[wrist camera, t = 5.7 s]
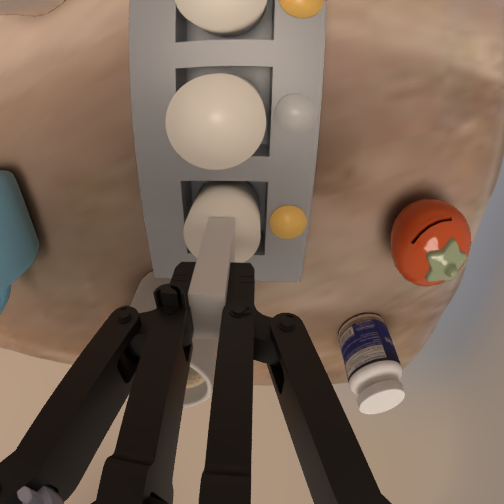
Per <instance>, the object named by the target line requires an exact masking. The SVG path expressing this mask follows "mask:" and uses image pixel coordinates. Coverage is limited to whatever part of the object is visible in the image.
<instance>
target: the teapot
mask: <svg viewBox="0 0 504 504" xmlns="http://www.w3.org/2000/svg"><path fill="white" fill-rule="evenodd" d="M38 249H39V241H38V238H37V235H36V232H35V229H34V226H33V224H32V221H31V218H30V215H29V212H28V210H27V207H26V204H25V202H24V199H23V196H22V194H21V191H20V188H19V186H18V183H17V181H16V178H15V177H14V175H13V174H12V173H11V172H9V171H4V170H0V314H1V312H2V311H3V309H4V307H5V305H6V303H7V301H8V299H9V296H10V292H11V284H12V283H13V282H14V281H15V280H17V279H18V278H19V277H20V276H21V275H22V274H23V273H24V272H25V271H26V270H27V269H28V268H29V267H30V266H31V265H32V264H33V262H34V260H35V258H36V256H37V253H38Z"/></svg>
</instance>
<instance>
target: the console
mask: <svg viewBox="0 0 504 504" xmlns="http://www.w3.org/2000/svg"><path fill="white" fill-rule="evenodd" d="M325 24H326V0H267V5H266V10H265V13H264V16H263V17H262V19H261V20H260V22H259V23H258V24H257V25H256V26H255V27H254V28H252V29H251V30H249V31H247V32H245V33H243V34H240V35H236V36H228V37H224V36H216V35H213V34H210V33H208V32H206V31H204V30H203V29H201V28H200V27H198V26H197V25H195V24H194V23H192V22H191V21H189V20H188V19H186V18H185V17H184V16H183V15H182V13H181V12H180V11H179V9H178V8H177V5H176V3H175V0H130V5H129V70H130V93H131V109H132V123H133V135H134V145H135V155H136V164H137V172H138V180H139V188H140V195H141V202H142V209H143V215H144V222H145V228H146V234H147V239H148V245H149V251H150V256H151V261H152V266H153V271H154V276H155V278H172V276H173V272H174V270H175V267H176V266H177V265H178V264H179V263H180V262H181V261H182V262H196V261H197V258H196V257H195V256H194V255H193V254H192V253H191V252H190V250H189V249H188V247H187V245H186V243H185V240H184V235H183V230H184V224H185V221H186V219H187V216H188V214H189V212H190V209H191V207H192V205H193V202H194V200H195V197H196V195H197V193H198V191H199V190H200V188H201V187H202V186H203V185H204V184H205V183H206V182H208V181H245V182H247V183H248V184H249V185H251V187H252V188H253V189H254V190H255V192H256V193H257V195H258V198H259V202H260V234H261V237H260V243H259V246H258V249H257V250H256V252H255V253H254V255H253V256H252V257H251V258H250V259H248V260H247V261H245V262H244V263H251V264H252V266H253V267H254V269H255V281H271V282H301V279H302V272H303V265H304V258H305V251H306V243H307V236H308V228H309V220H310V212H311V204H312V195H313V186H314V177H315V168H316V158H317V147H318V136H319V125H320V112H321V99H322V84H323V68H324V49H325ZM216 73H232V74H236V75H239V76H241V77H244V78H245V79H247V80H249V81H250V82H251V83H252V84H253V85H254V86H255V87H256V88H257V90H258V91H259V93H260V95H261V97H262V100H263V104H264V109H265V114H266V130H265V134H264V137H263V140H262V142H261V144H260V146H259V147H258V149H257V150H256V151H255V153H254V154H253V155H252V156H251V157H249V158H248V159H247V160H246V161H244V162H242V163H241V164H239V165H237V166H234V167H231V168H228V169H222V170H209V169H204V168H200V167H197V166H195V165H193V164H191V163H189V162H187V161H186V160H184V159H183V158H182V157H181V156H180V155H179V154H178V153H177V152H176V151H175V149H174V148H173V147H172V145H171V143H170V141H169V138H168V136H167V132H166V125H165V121H166V112H167V109H168V106H169V103H170V101H171V99H172V98H173V96H174V95H175V93H176V92H177V91H178V90H179V89H180V88H181V87H182V86H183V85H184V84H186V83H187V82H189V81H191V80H193V79H194V78H197V77H200V76H203V75H208V74H216Z"/></svg>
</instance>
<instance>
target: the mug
mask: <svg viewBox="0 0 504 504" xmlns="http://www.w3.org/2000/svg"><path fill="white" fill-rule="evenodd" d="M170 281H171V278H155V276H154V271H152V272H150V273H148V274H147V275H146V276H145V277H144V278H143V279H142V280H141V282H140V284H139V286H138V288H137V290H136V293H135V295H134V297H133V300H132V302H131V304H130V307H133V308H135V309H136V310H137V311H138V313H142V312H148V311H152V310H154V309H156V303H155V298H154V294H153V292H154V291H155V289H156V288H158V287H159V286H161V285H163V284H168V283H170ZM192 343H193V351H192V356H191V362H190V368H189V373H188V379H187V385H186V391H185V397H184V403H183V407H190V406H195V405H198V404H200V403H202V402H204V401H205V400H207V399H208V398H209V396H210V395H211V393H212V389H213V380H214V371H215V362H216V353H217V344H218V340H211V339H195V338H194V332H193V337H192ZM129 394H130V393H129Z"/></svg>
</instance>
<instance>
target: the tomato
mask: <svg viewBox="0 0 504 504" xmlns="http://www.w3.org/2000/svg"><path fill="white" fill-rule="evenodd" d="M470 247H471V232H470V228H469V225H468V223H467V221H466V219H465V217H464V216H463V214H462V213H461V212H460V211H459V210H457V209H456V208H455V207H454V206H452V205H451V204H449V203H446V202H443V201H440V200H436V199H421V200H417V201H414V202H412V203H409V204H408V205H407V206H405V207H404V208H403V209H402V210H401V211H400V212H399V214H398V215H397V216H396V218H395V221H394V223H393V226H392V229H391V236H390V250H391V254H392V258H393V261H394V264H395V267H396V268H397V269H398V271H399V272H400V274H401V275H402V276H403V277H404V278H405V279H406V280H408V281H410V282H411V283H413V284H416V285H419V286H433V285H438V284H441V283H443V282H445V281H451V280H452V279H453V278H455V277H456V276H457V275H458V271H459V270H460V269H461V268H462V266H463V265H464V263H465V261H466V259H467V257H468V254H469V251H470Z"/></svg>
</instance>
